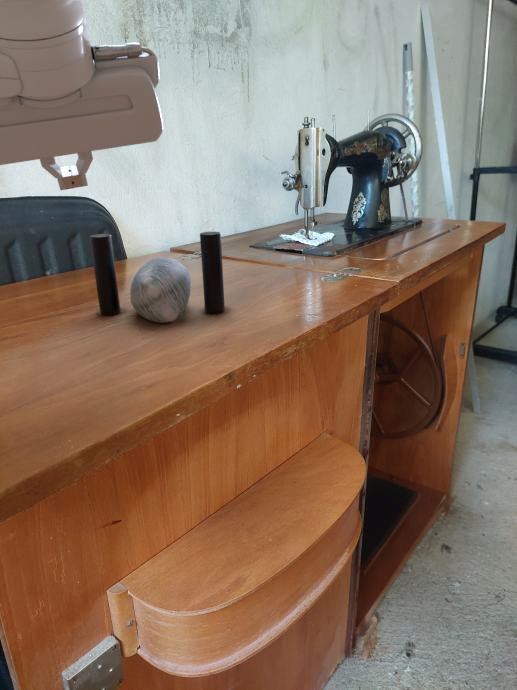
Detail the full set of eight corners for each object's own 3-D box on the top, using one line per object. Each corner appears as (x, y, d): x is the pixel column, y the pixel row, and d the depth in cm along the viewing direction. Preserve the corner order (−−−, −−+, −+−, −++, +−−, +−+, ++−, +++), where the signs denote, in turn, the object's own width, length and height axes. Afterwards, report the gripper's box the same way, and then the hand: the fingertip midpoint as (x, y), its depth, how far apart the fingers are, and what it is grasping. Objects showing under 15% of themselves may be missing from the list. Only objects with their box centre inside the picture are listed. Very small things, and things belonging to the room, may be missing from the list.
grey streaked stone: (148, 306, 86) (113, 260, 80) (198, 278, 85) (166, 229, 79) (157, 353, 75) (117, 303, 69) (214, 321, 74) (178, 268, 68)
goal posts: (98, 317, 78) (86, 237, 73) (104, 311, 80) (93, 234, 76) (223, 315, 77) (219, 234, 73) (225, 309, 80) (221, 231, 75)
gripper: (148, 25, 49) (159, 153, 60) (-91, 46, 44) (-29, 183, 55) (165, 57, 46) (174, 186, 57) (-90, 85, 40) (-25, 221, 52)
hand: (73, 184), depth 56 cm, fingers closed
